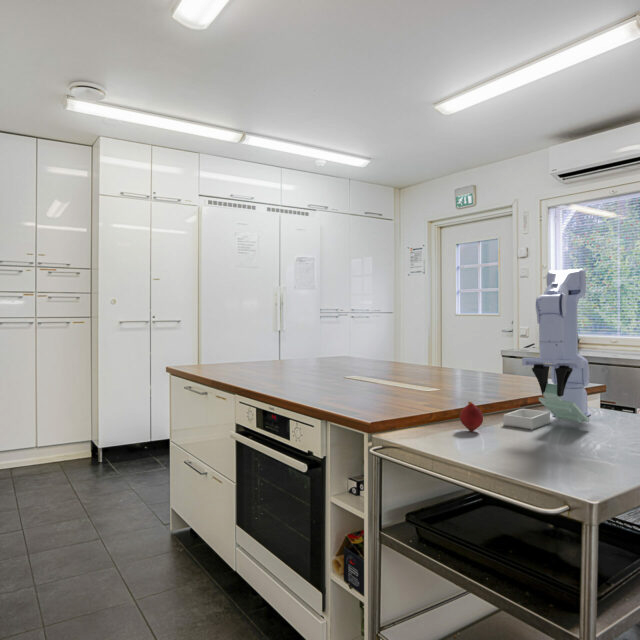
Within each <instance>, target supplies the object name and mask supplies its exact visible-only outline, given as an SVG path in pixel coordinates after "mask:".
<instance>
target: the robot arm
mask: <svg viewBox="0 0 640 640" xmlns="http://www.w3.org/2000/svg"><path fill="white" fill-rule="evenodd" d="M586 275H587V274H586V271H585V270H584V269H583V268H580V269H579V268H576V269H564V270H563V269H562V270H549V271H548V272H547V273H546V278H545V279H546V288H545V289H544V292H543V294H540V295H539V296H537V297H536V299H535V311H536V312H535V313H536V320H537V324H538V334H539V335H538V336H539V337H538V340H539V344H538V345H539V351H538V352H539V357H522V359H521V365H522V366H533V367H531V370H532V373H533V374H534V376H535V378H536V379H537V382H538V385H539V387H540V392H541V395H542V396H543V393H544V392H545V389H546V385H547V384H549V372H550V380H551V383H552V384H556V385H557V396H561V399H562V400H564V401H571V402H574V403H575V404H576V405H577V406H578V407H579V408H580V409H581V410H582V412H583V413H584V414H585V415H586V416H587V417H588V416H591V415H592V412H588V407H589V406H588V393H587V390H586V388H585V387H587V386H588V385H589V384H590V368H589V360H588V359H587V358H586V357H584V356H583V355H581V354H580V353H579V346H578V345H579V344H578V343H579V341H578V340H579V337H578V336H579V335H578V334H579V333H578V326H579V325H578V304H579V300H580V299H581V298H584V297H586V292H587V285H586V284H587V276H586ZM550 367H551V368H550ZM550 369H551V370H550ZM551 415H552V416H553V417H555V416H554V415H553V414H552V413H551Z"/></svg>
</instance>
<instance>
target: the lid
mask: <svg viewBox="0 0 640 640" xmlns="http://www.w3.org/2000/svg"><path fill="white" fill-rule="evenodd" d="M538 401H539V402H540V403H541V404H542V405H543V406H544V407H545V408H546V409H547V410H548V412H550V414H551V415H552V414H553V415H554V416H553V415H552V416H553V417H555V418H556V419H558V420H559V421H566V422H573V423H578V424H581V423H582V422H585V423H590V420H591V419H590V418H589V417H588V416H586V415H585V414H584V413H583V412H582V410H581V409H580V408H579V407H578V406H577V405H576V404H575V403H574V402H571V401H564V400H562V399H561V396H557V385H556V384H554V383H548V384H547V385H546V389H545V392H544V393H543V395H542V397H541V396H540V397H538Z"/></svg>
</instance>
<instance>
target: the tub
mask: <svg viewBox="0 0 640 640" xmlns="http://www.w3.org/2000/svg"><path fill="white" fill-rule="evenodd" d="M502 418H503V419H502V420H503V426H506V427H511V428H512V427H513V428H518V429H523V430H524V429H525V430H531V431H532V430H535V429H538V428H540V427H543V426H545V425H548V424H550V423H551V412H550V411H543V410H536V409H528V408H520V409H517V410H514V411H511V412H507V413H504V414H503V417H502Z"/></svg>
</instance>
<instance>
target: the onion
mask: <svg viewBox="0 0 640 640" xmlns="http://www.w3.org/2000/svg"><path fill="white" fill-rule="evenodd" d="M459 418H460V423H461V424H462V426H464V427H465V428H466V429H467V430H468V431H469V432H474V431H475V430H477V429H478V428H479V427H481V425H482V423H483V421H484V415H483V412H482V411H481V409H480V408H479V407H478V406H476V405H475V404H474V403H473V402H472V401H470V400H469V401H468V402H467V405H465V407H463V408H462V409H461V412H460V413H459Z"/></svg>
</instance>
